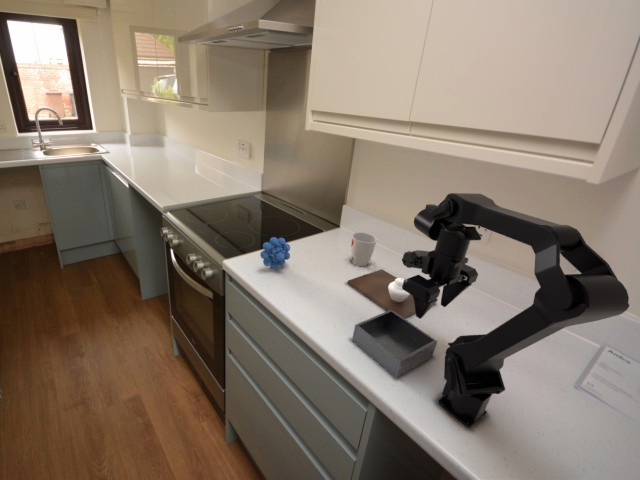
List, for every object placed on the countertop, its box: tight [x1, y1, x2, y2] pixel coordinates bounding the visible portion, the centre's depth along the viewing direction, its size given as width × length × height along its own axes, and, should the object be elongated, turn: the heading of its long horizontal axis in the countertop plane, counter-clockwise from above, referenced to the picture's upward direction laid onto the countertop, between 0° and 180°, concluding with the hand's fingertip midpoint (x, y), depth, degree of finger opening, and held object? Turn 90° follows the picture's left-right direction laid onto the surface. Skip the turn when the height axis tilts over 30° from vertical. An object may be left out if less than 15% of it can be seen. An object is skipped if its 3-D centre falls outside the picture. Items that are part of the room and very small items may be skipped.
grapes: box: [259, 236, 291, 270], centre depth 111 cm, size 12×7×12 cm, turn 120°
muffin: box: [388, 277, 410, 302], centre depth 98 cm, size 6×6×7 cm
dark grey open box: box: [351, 310, 438, 379], centre depth 82 cm, size 13×13×5 cm
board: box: [347, 268, 416, 319], centre depth 104 cm, size 20×16×1 cm
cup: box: [350, 232, 378, 267], centre depth 119 cm, size 8×8×10 cm
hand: (431, 311), depth 77 cm, fingers open, 9 cm apart
